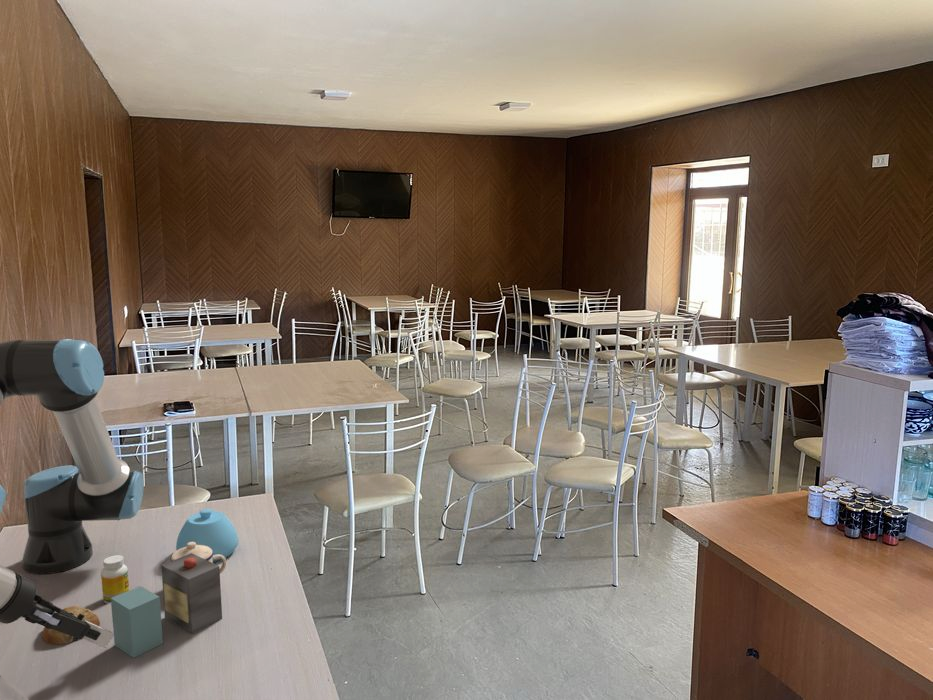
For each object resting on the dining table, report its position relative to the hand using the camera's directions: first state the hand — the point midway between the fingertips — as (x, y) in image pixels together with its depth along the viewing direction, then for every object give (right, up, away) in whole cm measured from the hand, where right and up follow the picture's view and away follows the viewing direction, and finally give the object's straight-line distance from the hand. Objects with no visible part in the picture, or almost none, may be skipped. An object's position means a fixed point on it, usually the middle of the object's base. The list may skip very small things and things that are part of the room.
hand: (107, 639), depth 133 cm
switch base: (+6, -4, +9) cm, 12 cm away
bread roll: (-13, -4, +10) cm, 17 cm away
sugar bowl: (+1, +2, +48) cm, 48 cm away
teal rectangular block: (+3, -3, +5) cm, 7 cm away
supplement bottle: (-11, -1, +25) cm, 27 cm away
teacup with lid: (+6, -1, +30) cm, 31 cm away
